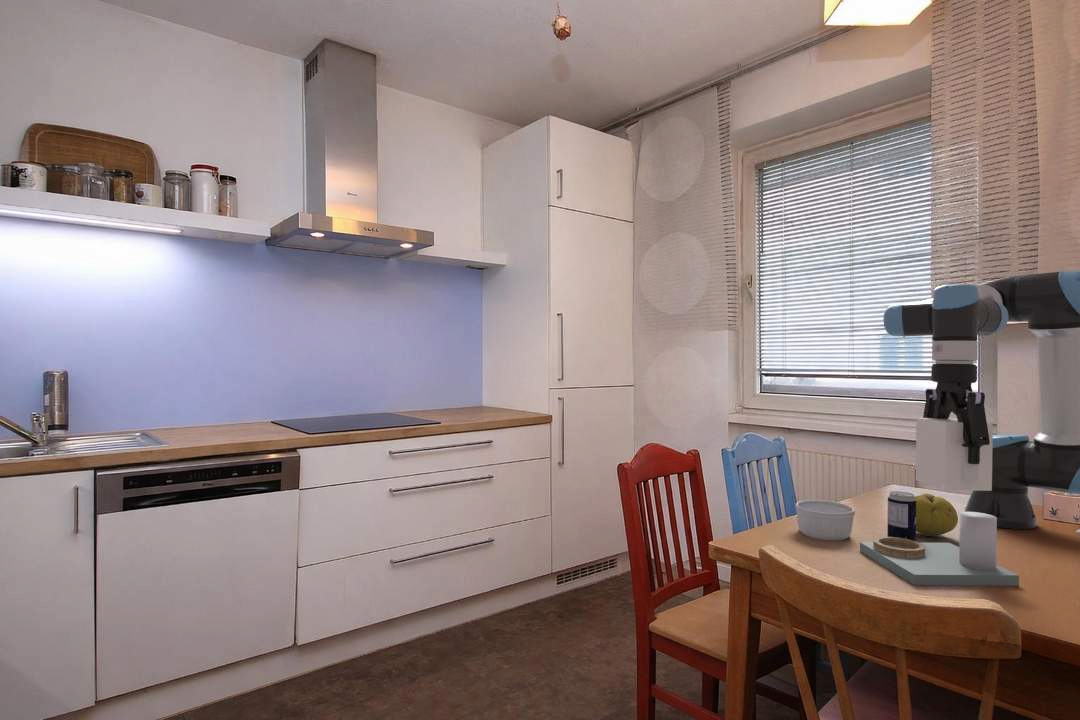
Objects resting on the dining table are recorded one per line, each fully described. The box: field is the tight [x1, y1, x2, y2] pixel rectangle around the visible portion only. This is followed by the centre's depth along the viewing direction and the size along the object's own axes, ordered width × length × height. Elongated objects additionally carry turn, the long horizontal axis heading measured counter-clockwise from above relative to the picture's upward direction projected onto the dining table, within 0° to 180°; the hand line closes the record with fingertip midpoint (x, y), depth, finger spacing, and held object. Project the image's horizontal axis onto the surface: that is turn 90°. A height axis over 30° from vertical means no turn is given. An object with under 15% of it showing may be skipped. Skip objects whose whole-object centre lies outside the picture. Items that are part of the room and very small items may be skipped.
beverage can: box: [886, 491, 917, 541], centre depth 140 cm, size 6×6×12 cm
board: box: [859, 511, 1020, 587], centre depth 126 cm, size 20×20×12 cm
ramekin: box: [795, 499, 856, 541], centre depth 149 cm, size 13×13×7 cm
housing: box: [915, 417, 994, 491], centre depth 120 cm, size 9×9×13 cm
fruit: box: [914, 493, 959, 537], centre depth 147 cm, size 11×12×10 cm
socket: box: [872, 536, 925, 558], centre depth 130 cm, size 10×10×2 cm
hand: (952, 475), depth 120 cm, fingers closed on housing, 9 cm apart
